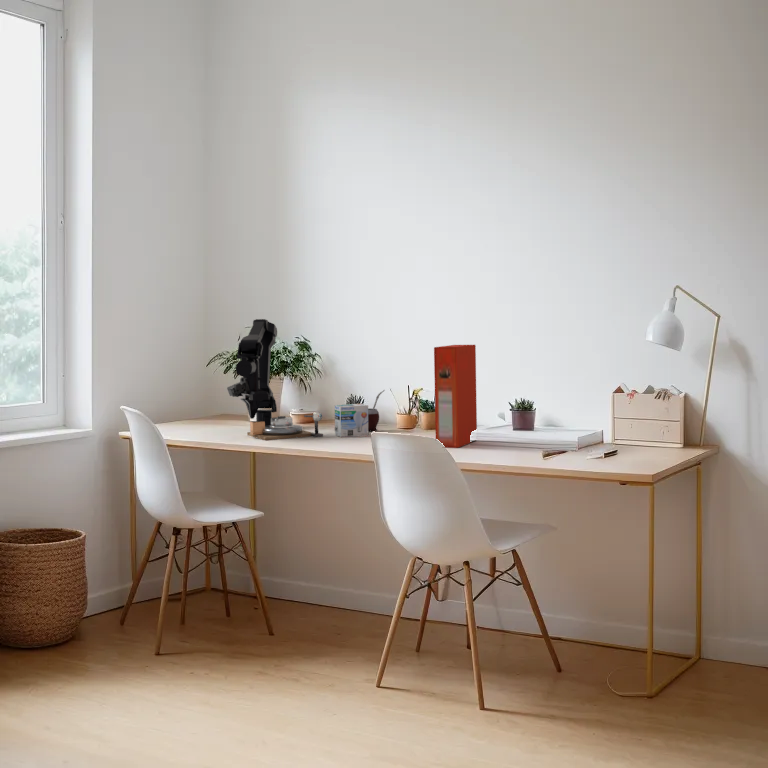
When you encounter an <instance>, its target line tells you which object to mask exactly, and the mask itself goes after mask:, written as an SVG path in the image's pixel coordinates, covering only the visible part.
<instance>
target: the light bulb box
mask: <svg viewBox="0 0 768 768" xmlns="http://www.w3.org/2000/svg"><path fill="white" fill-rule="evenodd" d="M368 409H369V405H367V404H364V403H351V404H350V403H347V404H335V405H334V434H335V436H338V437H340V438H344V437H345V438H347V437H362V436H363V437H364V436H369V432H368Z"/></svg>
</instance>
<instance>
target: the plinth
mask: <svg viewBox="0 0 768 768" xmlns="http://www.w3.org/2000/svg"><path fill="white" fill-rule="evenodd" d="M311 433H314V432H312V431H308V430H305V429H302V433H298V434H290V435H265V434H259V435H252V434H250V431H249V432H247V436H249V437H252V438H256V439H258V440H259V439H260V440H263V441H271V440H272V441H273V440H274V441H275V440H284V439H295V438H296V437H298V438H306V437H307V438H309V437H312V436H311ZM296 439H297V438H296Z"/></svg>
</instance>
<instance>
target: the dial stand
mask: <svg viewBox="0 0 768 768" xmlns="http://www.w3.org/2000/svg"><path fill="white" fill-rule="evenodd" d="M303 417H304V418H312V419H313V421H314V432H313V433H311V436H310V437H312V438H323V437H324V434H323V433H321V432H319V422H320V421H322V418H323V414H322V413H321V412H319V411H315V412H313V414H312V415H311V414H310V415H309V414H307V415H306V414H305V415H303Z"/></svg>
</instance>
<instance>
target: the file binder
mask: <svg viewBox="0 0 768 768" xmlns="http://www.w3.org/2000/svg"><path fill="white" fill-rule="evenodd" d="M476 353H477V351H476V344H452V345H441V346H436V347H435V346H434V347H433V361H434V363H433V365H434V367H433V369H434V370H433V371H434V373H433V374H434V408H435V410H434V412H435V413H434V415H435V417H434V418H435V419H434V420H435V427H434V428H435V440H436V439H438V440H439V441H440V442H441V443H443V445H444V446H445V447H444V448H447V449H448V448H450V449H451V448H454V449H457V448H461V447H463V446H466V445H469V444H471V443H470V435H471V432H472V431H474V430H476V429H477V430H478V427H477V426H478V425H477V424H478V421H477V420H478V418H477V415H478V414H477V358H476V357H477V356H476V355H477V354H476Z"/></svg>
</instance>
